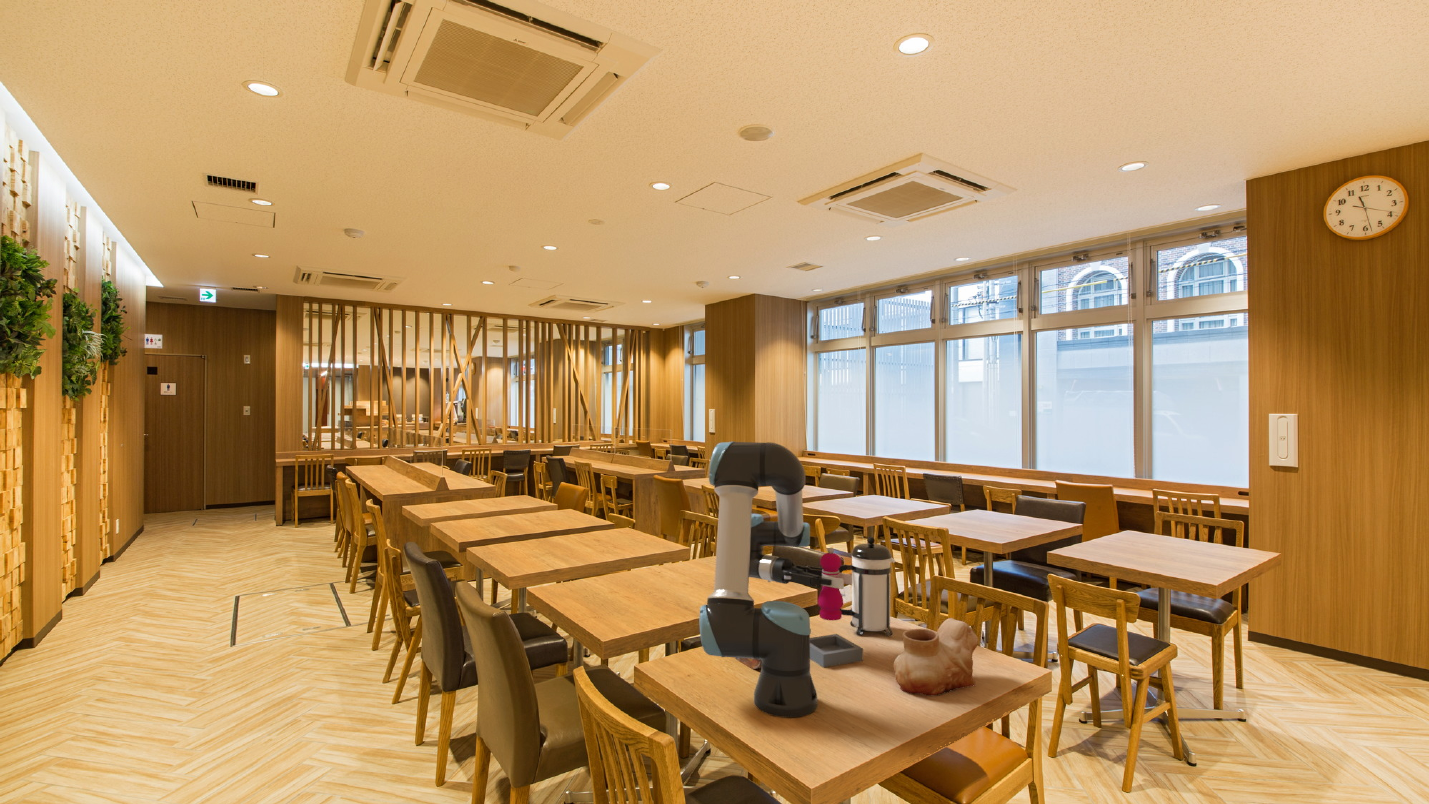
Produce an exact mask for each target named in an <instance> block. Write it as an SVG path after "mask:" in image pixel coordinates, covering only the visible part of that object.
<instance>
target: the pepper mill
mask: <svg viewBox="0 0 1429 804" xmlns="http://www.w3.org/2000/svg"><path fill="white" fill-rule="evenodd" d="M834 551H835V550H834V548H833V547H828V548H827V552H826V553H824V554H822V556H821V557H820V559H819V560H820V561H819V562H820V566H821V568H823V569H822V575H824V576H830V577H835V578H838V576H839V570H838V569H839V568H840V566H841V565H842V559H841V556H839V555H838V554H837V553H834ZM817 604H818V606H819V607H820V609H819V617H820V618H821V619H823V620H824V621H839V620H841V619H842V616H843V615H842V612H841V611H840V609H843V606H844V598H843V596H842V593H841V589H839V588H833V587H828V586H823V585H822V586H821V590H820V592H819V594H818V598H817Z"/></svg>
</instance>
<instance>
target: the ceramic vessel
mask: <svg viewBox="0 0 1429 804" xmlns="http://www.w3.org/2000/svg"><path fill="white" fill-rule="evenodd" d="M901 636H902V642H903V651H902V653H900V654H898V655H897V656H896V657H895V659H894V662H893V670H894V673H895V674H894V675H895V681H896V683H897V684H898V685H899V687H900V690H901V691H902V692H903V693H906V694H910V695H924V696H928V697H935V696H942V695H944V694H946V693H947V692H948V693H949V692H952V691H956V690H958V689H962V688H963V687H964V688H968V687H967V686H969V687H975V685H976V681H975V678H974V676H973V670H974V669H973V668H974V667H973V666H974V659H973V653H974V651H975V650H976V648H977V646H979V638H978V636H977V634H976V633H975V632H974V630H973V627H971V626H970V625H969V624H968V623H967V622H964V621H961V620H958V619H957V620H956V619H954V618H953V617H950V618H946V619H945V620H944V621H943V622H942V623H941V624H940V625H939V627H938V629H937V631H935V630H932V629H929V628H913V629H907V630H905V631H903V633H902V635H901Z"/></svg>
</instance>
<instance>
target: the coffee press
mask: <svg viewBox="0 0 1429 804" xmlns="http://www.w3.org/2000/svg"><path fill="white" fill-rule="evenodd" d="M875 541H876V539H875V538H874V537H872V536H869V537H868V538H867V542H868V543H860V544H857V545H855V546H854V547H853V548H852V550H851V551H850V556H851V563H850V564H841V566H840V568H839V569H838V570H839V573H843V572H845V571H851V575H852V585H851V608H850V609H843V608H841V609H840V611H841V612H842V616H850V617H851V621H850V622H849V623H850V624H849V625H850V626H852V627H855V628H856V633H855V634H856V635H857V636H859V637H862V636H863V634H864V632H866V631H867V632H884V633H885V635H886V636H887V637H891V636H893V631H892V628H891V627H890V626H891V573H892V565H891V564H892V563H896V559H894V558H893V555H892V553H891V551H890V549H889V548H888V547H886V545H885V546H884V545H882V544H879V543H875Z"/></svg>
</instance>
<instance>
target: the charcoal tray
mask: <svg viewBox="0 0 1429 804" xmlns="http://www.w3.org/2000/svg"><path fill="white" fill-rule="evenodd" d="M863 655H864V649H863V647H862V646H860V645H858V644H856V643H854V642H852V641H850V640H849V639H847V638H845V637H843V636H842V635H840V634H837V633H833V634H827V635H826V634H825V635H820V636H815V637H814V636H813V637H810V661H813V662H814V663H816V664H817V665H818V666H820V667H822V668H823V667H824V668H828V666H830V667H835V666H840V665H847V664H852V663H858V662H863V660H864V658H863V657H864V656H863Z"/></svg>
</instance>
